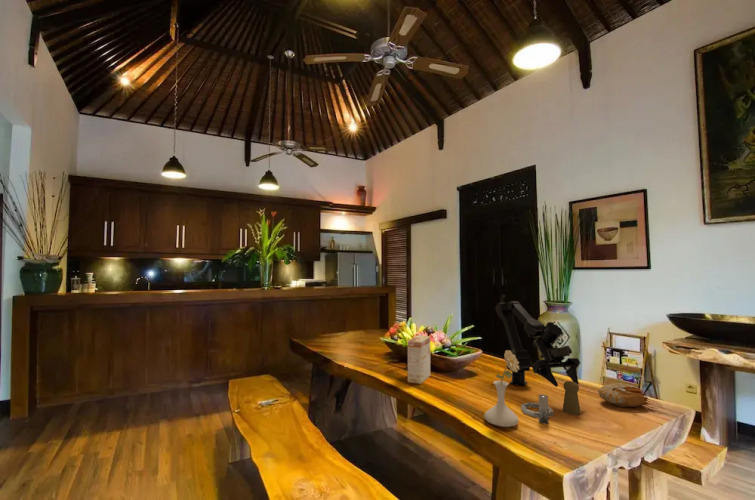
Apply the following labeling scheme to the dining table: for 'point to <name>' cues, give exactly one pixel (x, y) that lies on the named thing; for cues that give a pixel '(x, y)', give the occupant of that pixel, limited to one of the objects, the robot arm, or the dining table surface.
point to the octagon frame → (543, 409)
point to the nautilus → (625, 395)
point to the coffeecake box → (418, 359)
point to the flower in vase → (500, 411)
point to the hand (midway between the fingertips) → (567, 385)
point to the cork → (571, 398)
